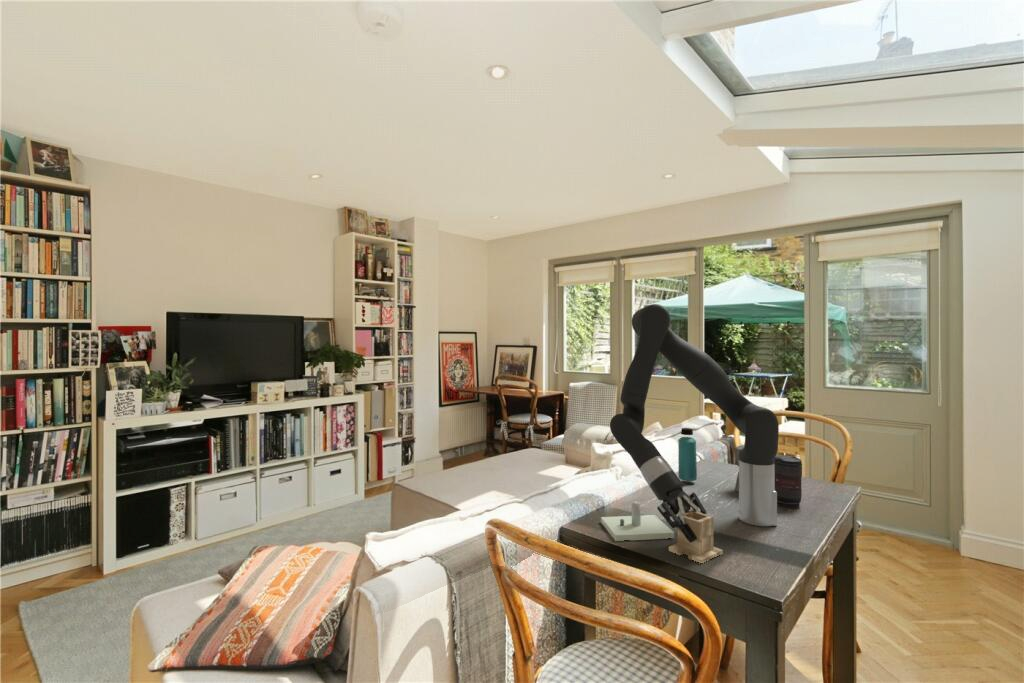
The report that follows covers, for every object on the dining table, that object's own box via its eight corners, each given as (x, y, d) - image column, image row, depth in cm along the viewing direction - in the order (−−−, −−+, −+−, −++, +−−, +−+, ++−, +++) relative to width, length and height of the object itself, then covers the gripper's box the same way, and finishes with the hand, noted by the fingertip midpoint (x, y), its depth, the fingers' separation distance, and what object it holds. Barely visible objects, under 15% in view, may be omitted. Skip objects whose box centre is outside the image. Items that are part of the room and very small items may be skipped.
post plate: (654, 520, 139) (654, 494, 139) (674, 538, 126) (674, 509, 126) (600, 522, 138) (600, 496, 138) (615, 541, 125) (615, 512, 125)
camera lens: (786, 510, 147) (786, 461, 147) (767, 501, 155) (766, 455, 155) (808, 508, 149) (808, 460, 149) (788, 500, 157) (788, 454, 157)
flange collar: (689, 541, 124) (689, 507, 124) (722, 554, 117) (722, 517, 117) (668, 550, 119) (668, 514, 119) (701, 564, 112) (701, 525, 112)
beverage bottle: (698, 485, 172) (698, 430, 172) (679, 484, 174) (679, 429, 174) (695, 480, 179) (695, 427, 179) (676, 479, 180) (676, 426, 180)
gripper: (651, 474, 120) (694, 537, 110) (685, 465, 128) (728, 523, 119) (634, 490, 124) (674, 552, 115) (668, 480, 133) (708, 537, 123)
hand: (701, 537), depth 117 cm, fingers closed on flange collar, 6 cm apart
